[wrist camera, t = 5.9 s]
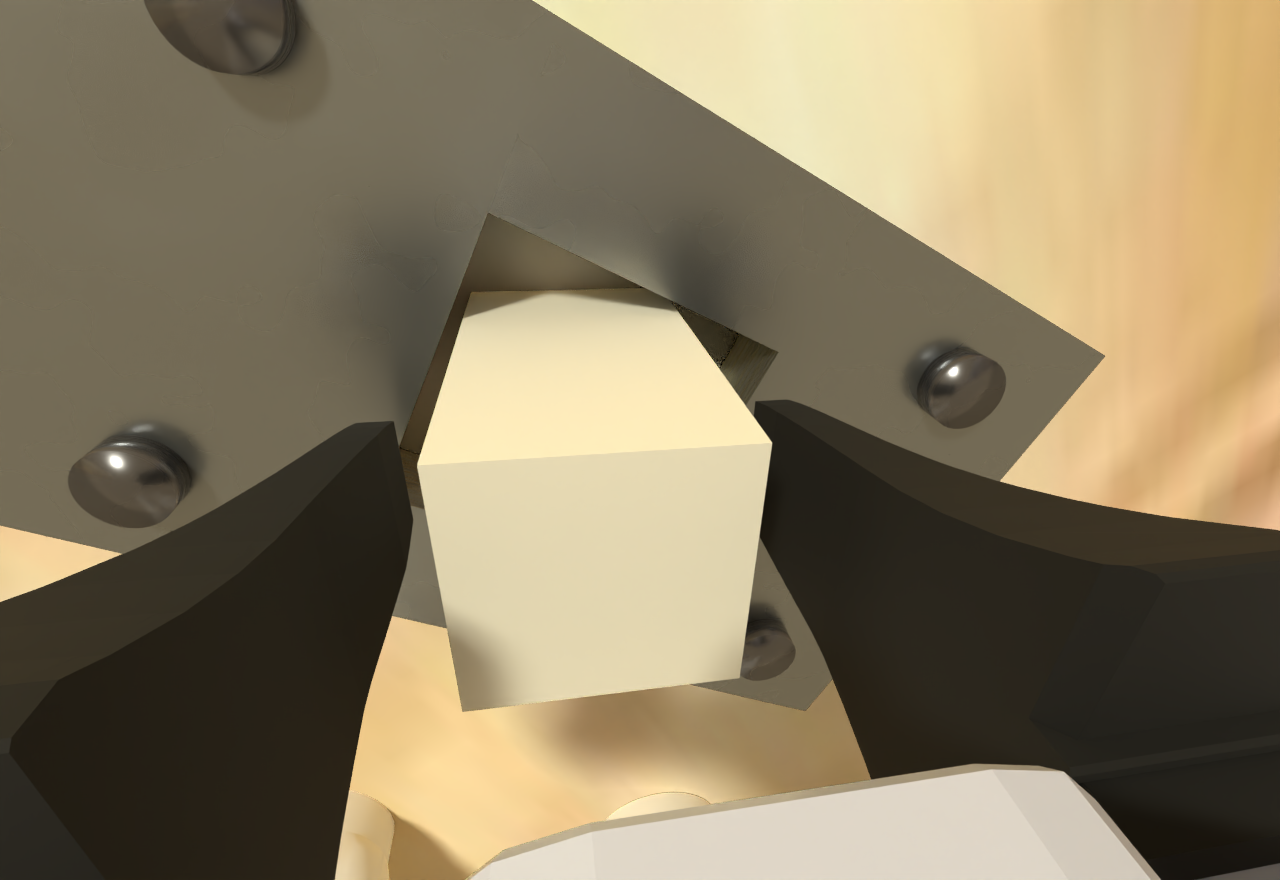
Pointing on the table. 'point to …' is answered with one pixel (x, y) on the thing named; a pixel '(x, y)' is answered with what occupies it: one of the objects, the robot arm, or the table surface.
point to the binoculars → (373, 830)
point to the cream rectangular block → (589, 499)
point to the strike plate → (422, 259)
